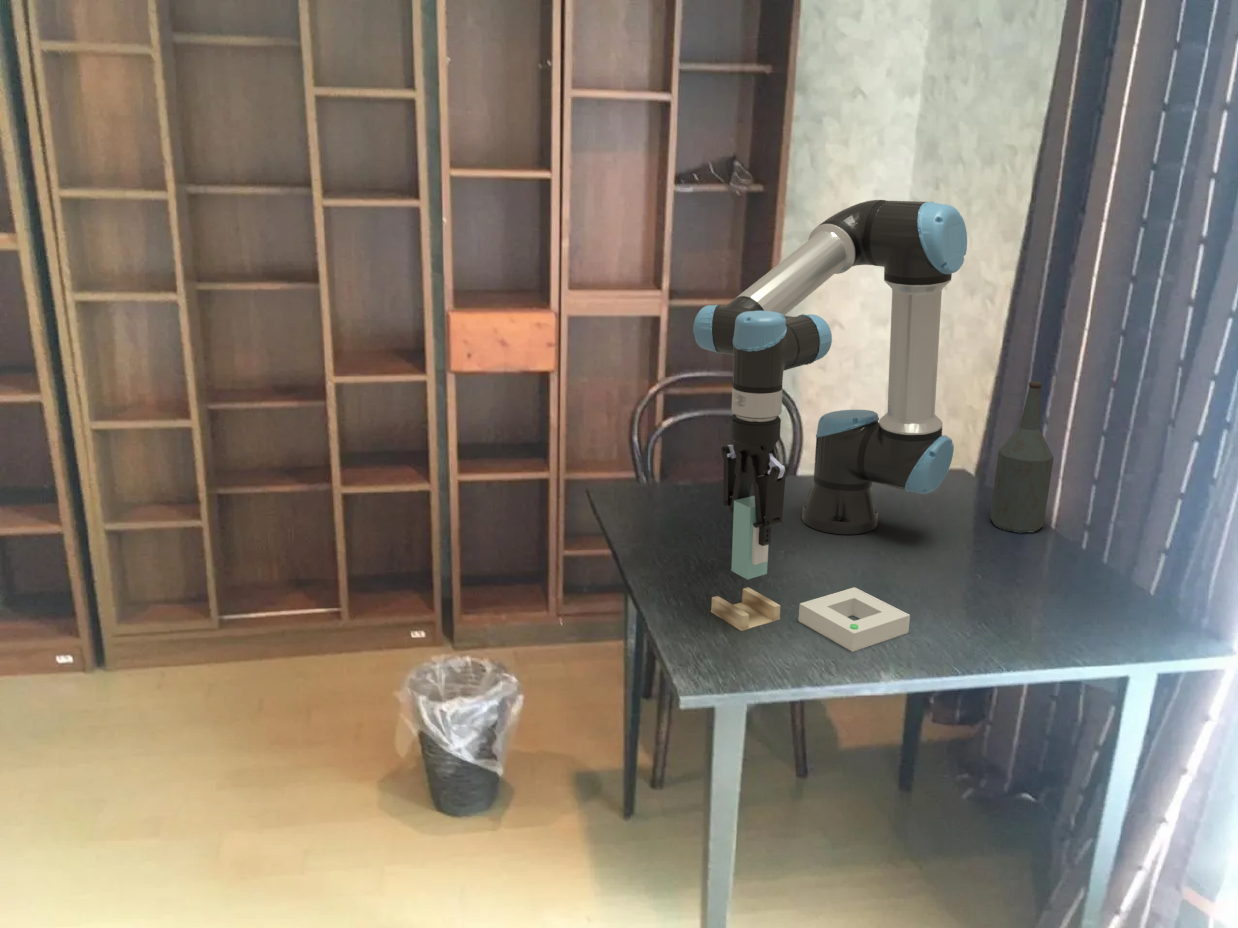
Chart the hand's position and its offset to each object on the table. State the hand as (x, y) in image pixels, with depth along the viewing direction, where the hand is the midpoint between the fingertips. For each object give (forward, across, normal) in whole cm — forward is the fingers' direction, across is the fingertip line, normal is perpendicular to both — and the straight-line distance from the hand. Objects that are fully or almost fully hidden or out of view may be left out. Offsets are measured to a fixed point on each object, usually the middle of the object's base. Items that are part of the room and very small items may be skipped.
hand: (749, 556), depth 162 cm
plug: (+3, 0, 0) cm, 3 cm away
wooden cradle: (+12, 0, -1) cm, 12 cm away
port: (+12, +12, +11) cm, 20 cm away
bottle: (+13, -6, +75) cm, 77 cm away
